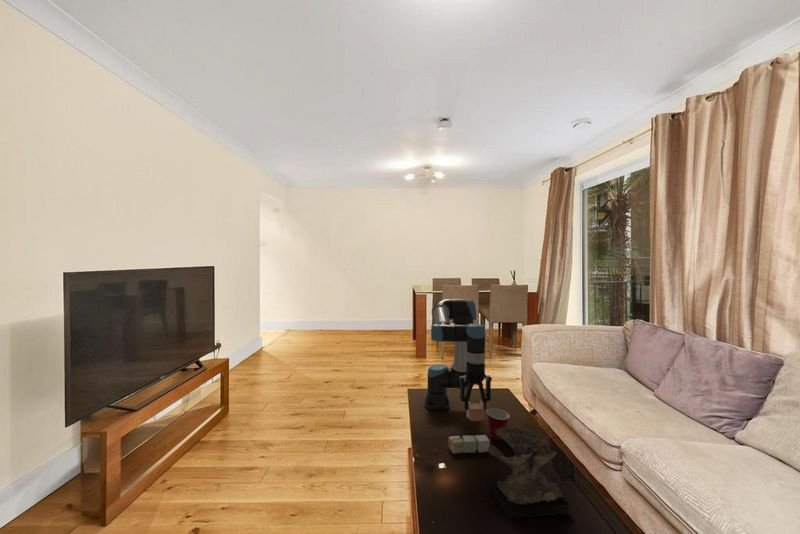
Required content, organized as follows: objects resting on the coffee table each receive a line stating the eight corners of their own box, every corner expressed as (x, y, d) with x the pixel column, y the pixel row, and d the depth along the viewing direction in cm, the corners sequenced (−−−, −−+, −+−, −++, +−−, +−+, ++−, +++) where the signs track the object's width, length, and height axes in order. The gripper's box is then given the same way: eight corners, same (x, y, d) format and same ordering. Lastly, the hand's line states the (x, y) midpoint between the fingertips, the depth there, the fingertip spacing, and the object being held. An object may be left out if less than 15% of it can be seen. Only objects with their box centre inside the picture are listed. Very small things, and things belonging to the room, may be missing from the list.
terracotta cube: (467, 415, 141) (467, 403, 141) (478, 415, 142) (479, 403, 142) (470, 421, 136) (471, 409, 136) (482, 420, 137) (483, 408, 137)
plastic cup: (511, 444, 155) (511, 418, 155) (487, 442, 156) (487, 417, 156) (507, 432, 165) (507, 408, 165) (485, 431, 167) (485, 407, 167)
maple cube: (448, 447, 152) (448, 436, 151) (458, 446, 153) (458, 435, 153) (453, 453, 147) (453, 442, 147) (463, 452, 148) (463, 441, 148)
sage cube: (462, 446, 153) (462, 435, 153) (473, 446, 153) (473, 435, 153) (464, 452, 148) (464, 441, 148) (475, 452, 148) (475, 441, 148)
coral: (497, 520, 109) (498, 455, 109) (477, 479, 129) (478, 424, 129) (570, 515, 111) (571, 451, 111) (539, 477, 131) (540, 422, 131)
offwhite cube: (474, 446, 153) (474, 435, 153) (484, 445, 154) (484, 434, 154) (478, 452, 148) (479, 441, 148) (489, 451, 149) (489, 440, 149)
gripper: (456, 364, 134) (456, 422, 135) (500, 364, 136) (499, 420, 136) (452, 359, 142) (451, 413, 142) (493, 358, 143) (492, 412, 144)
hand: (475, 417), depth 139 cm, fingers closed on terracotta cube, 5 cm apart
